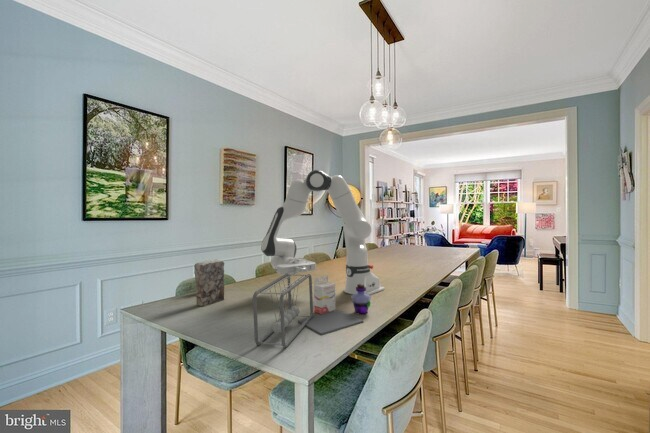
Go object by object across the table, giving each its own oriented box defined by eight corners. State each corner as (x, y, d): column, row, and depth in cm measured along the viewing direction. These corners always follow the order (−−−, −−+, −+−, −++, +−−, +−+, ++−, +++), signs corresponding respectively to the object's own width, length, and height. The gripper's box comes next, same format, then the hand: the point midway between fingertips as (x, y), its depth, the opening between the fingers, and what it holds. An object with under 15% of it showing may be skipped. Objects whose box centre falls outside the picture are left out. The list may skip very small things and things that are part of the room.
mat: (338, 311, 132) (338, 310, 132) (363, 322, 119) (363, 320, 119) (298, 321, 121) (298, 320, 121) (321, 335, 108) (321, 333, 108)
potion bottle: (370, 316, 126) (370, 287, 125) (349, 315, 128) (349, 286, 127) (372, 309, 134) (371, 282, 134) (352, 308, 136) (352, 281, 136)
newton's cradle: (284, 350, 96) (282, 294, 95) (254, 347, 99) (251, 293, 98) (313, 316, 125) (311, 272, 124) (289, 314, 128) (287, 272, 127)
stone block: (204, 307, 142) (203, 264, 141) (194, 305, 145) (193, 263, 144) (226, 299, 153) (225, 259, 153) (216, 298, 156) (215, 258, 156)
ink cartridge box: (322, 314, 129) (321, 279, 128) (314, 312, 132) (313, 278, 132) (336, 309, 135) (335, 276, 134) (328, 307, 138) (327, 274, 138)
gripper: (271, 261, 151) (285, 266, 140) (307, 258, 163) (322, 261, 152) (271, 274, 151) (285, 279, 140) (307, 270, 163) (322, 274, 152)
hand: (304, 270), depth 146 cm, fingers closed
